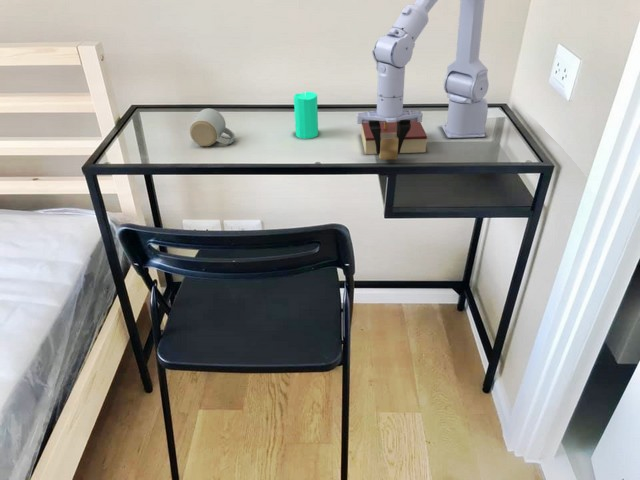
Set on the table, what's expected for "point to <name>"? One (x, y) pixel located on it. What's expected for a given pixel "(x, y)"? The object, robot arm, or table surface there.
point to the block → (388, 146)
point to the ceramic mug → (210, 128)
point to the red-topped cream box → (406, 147)
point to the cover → (414, 132)
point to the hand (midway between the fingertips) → (387, 151)
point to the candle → (306, 115)
